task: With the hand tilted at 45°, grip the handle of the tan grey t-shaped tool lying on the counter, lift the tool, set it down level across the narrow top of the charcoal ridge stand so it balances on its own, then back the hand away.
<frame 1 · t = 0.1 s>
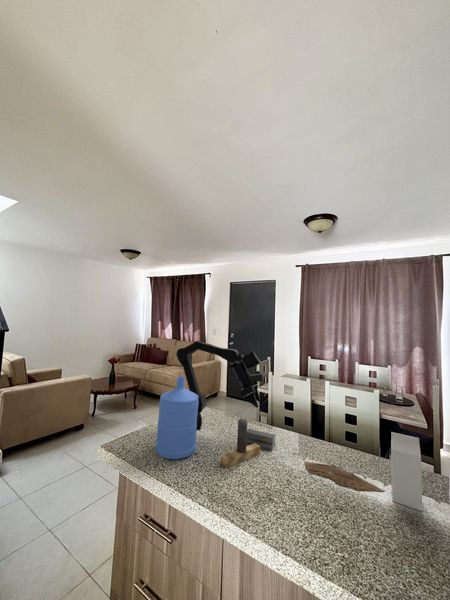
hand: (258, 404, 115), 15 cm above the counter, tool tilted 35°, fingers open, 9 cm apart
tan grey t-shaped tool: (241, 458, 95), on the counter
ridge stand: (259, 444, 108), on the counter
wooden fragment: (340, 478, 87), on the counter
water jug: (175, 450, 99), on the counter
milk carton: (406, 500, 76), on the counter
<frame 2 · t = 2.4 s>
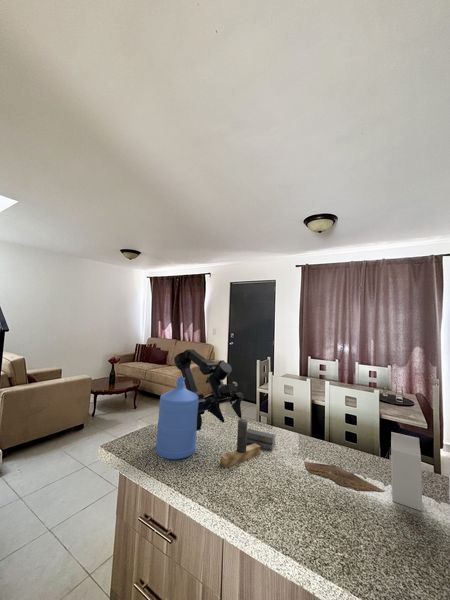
hand: (232, 420, 101), 12 cm above the counter, tool tilted 45°, fingers open, 9 cm apart
nothing on the counter moved.
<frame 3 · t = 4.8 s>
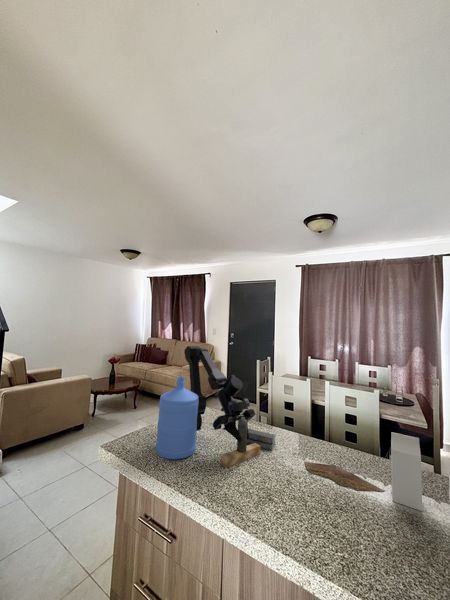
hand: (244, 440, 95), 7 cm above the counter, tool tilted 45°, fingers closed on tan grey t-shaped tool, 4 cm apart
tan grey t-shaped tool: (241, 458, 95), on the counter, touching gripper
everything else where it was.
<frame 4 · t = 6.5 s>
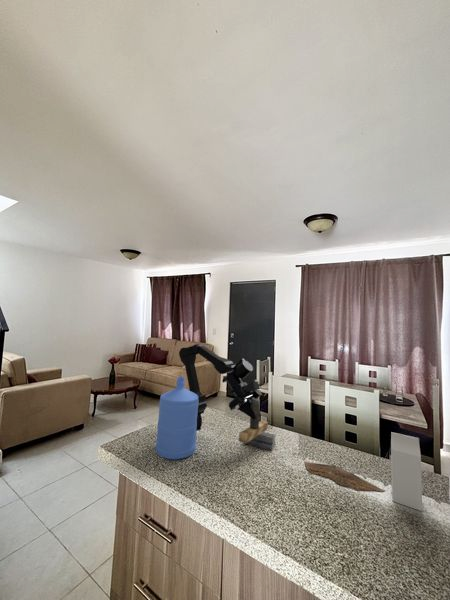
hand: (257, 417, 102), 13 cm above the counter, tool tilted 45°, fingers closed on tan grey t-shaped tool, 4 cm apart
tan grey t-shaped tool: (254, 434, 102), point 6 cm above the counter, touching gripper
everything else where it was.
when the fingers open (12 cm above the counter, at t = 8.3 s): tan grey t-shaped tool stays where it is, resting on ridge stand.
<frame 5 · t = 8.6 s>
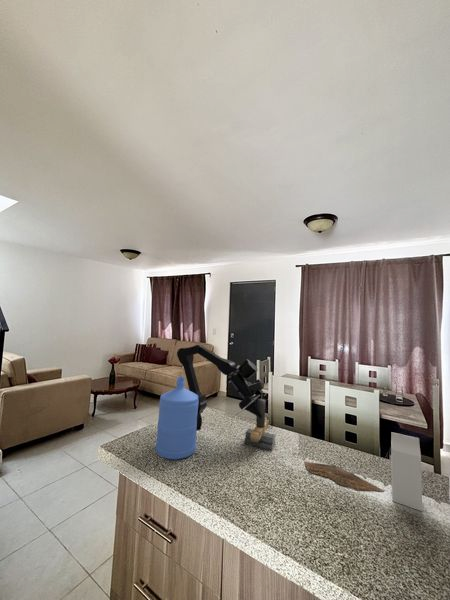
hand: (264, 414, 109), 13 cm above the counter, tool tilted 45°, fingers open, 7 cm apart
tan grey t-shaped tool: (260, 433, 108), point 4 cm above the counter, touching ridge stand
everything else where it was.
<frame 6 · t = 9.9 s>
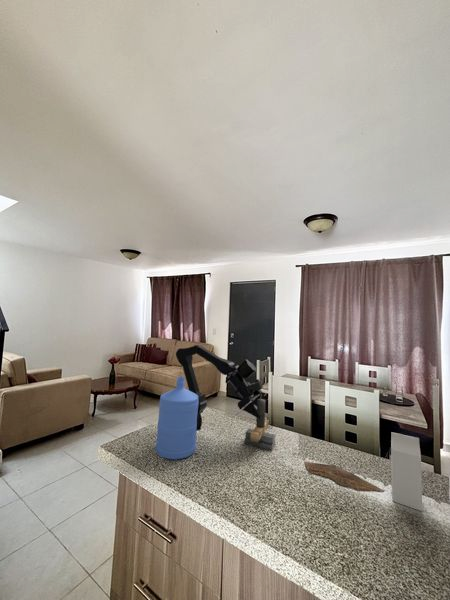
hand: (262, 414, 109), 12 cm above the counter, tool tilted 45°, fingers open, 9 cm apart
nothing on the counter moved.
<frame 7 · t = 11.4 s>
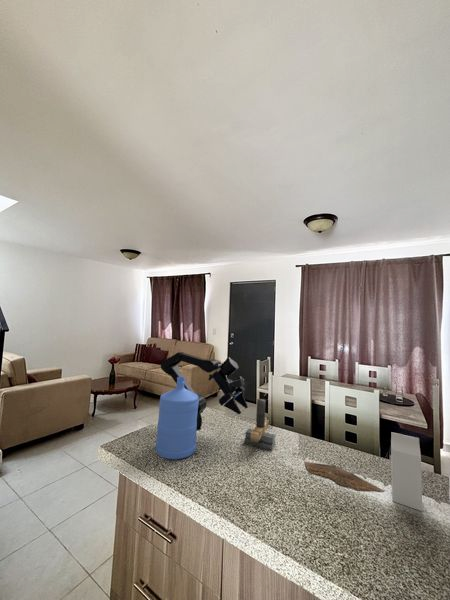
hand: (243, 410, 112), 13 cm above the counter, tool tilted 45°, fingers open, 9 cm apart
nothing on the counter moved.
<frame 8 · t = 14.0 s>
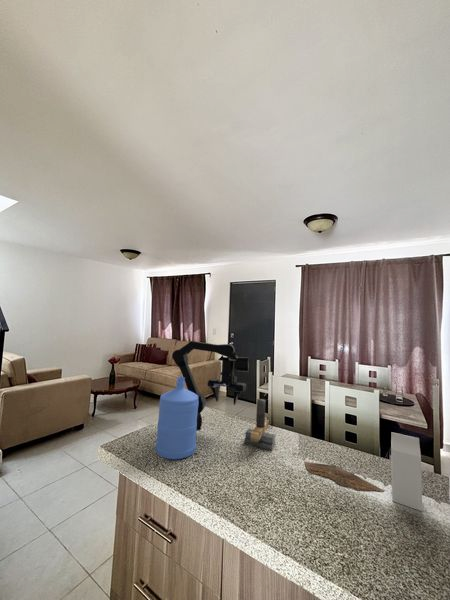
hand: (225, 403, 121), 13 cm above the counter, tool pointing down, fingers open, 9 cm apart
nothing on the counter moved.
at the end: tan grey t-shaped tool 0.1 cm off-centre on the ridge stand, point 4.5 cm above the ridge stand's base; tan grey t-shaped tool tilted 0°; tan grey t-shaped tool touching ridge stand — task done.
